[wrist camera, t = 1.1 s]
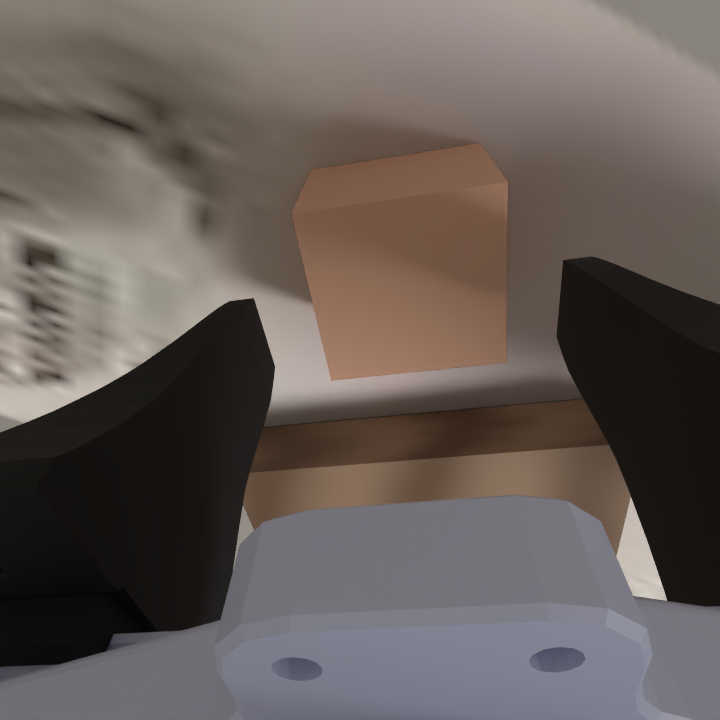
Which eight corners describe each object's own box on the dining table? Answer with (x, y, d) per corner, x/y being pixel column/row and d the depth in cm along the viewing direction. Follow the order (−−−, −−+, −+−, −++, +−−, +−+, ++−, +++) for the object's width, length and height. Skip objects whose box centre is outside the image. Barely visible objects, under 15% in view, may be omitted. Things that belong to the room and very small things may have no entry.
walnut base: (616, 396, 19) (643, 442, 17) (578, 602, 28) (593, 649, 26) (244, 429, 21) (229, 474, 19) (315, 613, 30) (310, 658, 28)
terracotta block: (480, 141, 14) (508, 182, 11) (483, 294, 17) (506, 362, 14) (311, 168, 15) (290, 214, 12) (341, 311, 18) (331, 380, 15)
